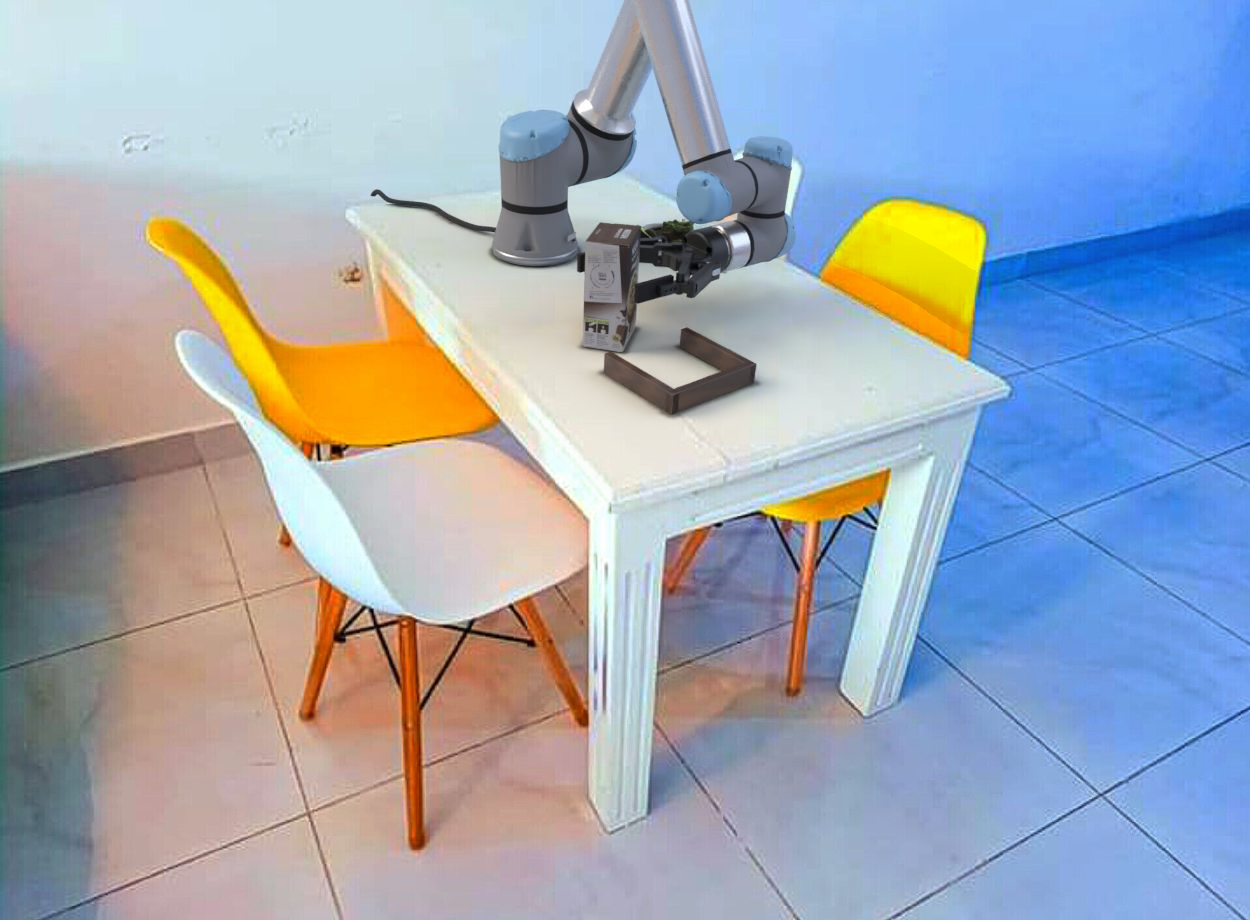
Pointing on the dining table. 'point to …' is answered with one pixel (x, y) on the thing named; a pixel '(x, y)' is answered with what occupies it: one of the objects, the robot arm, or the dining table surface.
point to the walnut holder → (675, 400)
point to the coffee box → (610, 286)
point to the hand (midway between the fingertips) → (606, 278)
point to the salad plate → (667, 231)
